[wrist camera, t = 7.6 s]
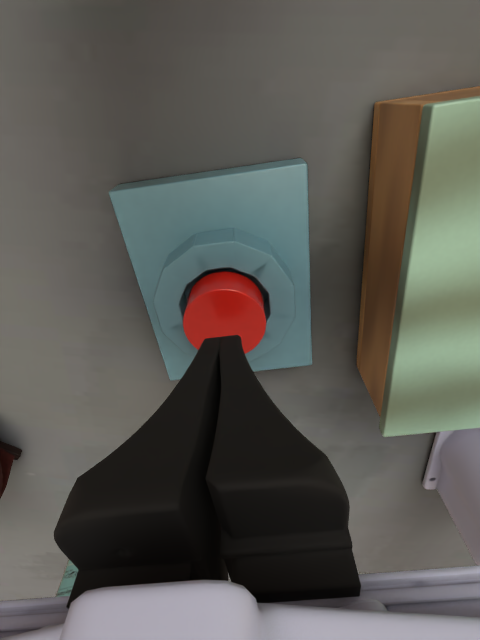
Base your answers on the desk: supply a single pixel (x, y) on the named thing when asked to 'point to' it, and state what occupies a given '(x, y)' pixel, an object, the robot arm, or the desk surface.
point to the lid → (439, 282)
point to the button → (225, 310)
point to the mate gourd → (7, 463)
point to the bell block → (223, 252)
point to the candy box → (388, 227)
